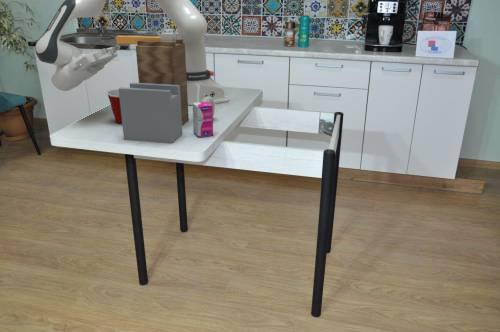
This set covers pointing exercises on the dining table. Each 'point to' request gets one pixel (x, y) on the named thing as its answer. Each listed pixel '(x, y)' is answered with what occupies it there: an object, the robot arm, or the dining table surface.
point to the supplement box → (203, 119)
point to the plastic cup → (115, 104)
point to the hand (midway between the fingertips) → (112, 48)
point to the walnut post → (164, 67)
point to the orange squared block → (145, 38)
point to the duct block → (151, 112)
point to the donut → (210, 100)
